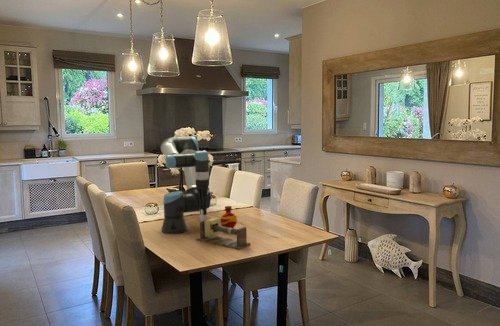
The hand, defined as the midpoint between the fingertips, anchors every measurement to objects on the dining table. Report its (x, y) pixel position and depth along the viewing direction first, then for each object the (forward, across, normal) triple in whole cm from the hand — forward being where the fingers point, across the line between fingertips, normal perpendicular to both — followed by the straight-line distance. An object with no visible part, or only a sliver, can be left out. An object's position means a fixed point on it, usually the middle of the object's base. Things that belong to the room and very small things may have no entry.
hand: (203, 220), depth 228 cm
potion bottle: (+11, +3, +19) cm, 22 cm away
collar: (+8, +7, 0) cm, 10 cm away
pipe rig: (+11, +14, 0) cm, 17 cm away
